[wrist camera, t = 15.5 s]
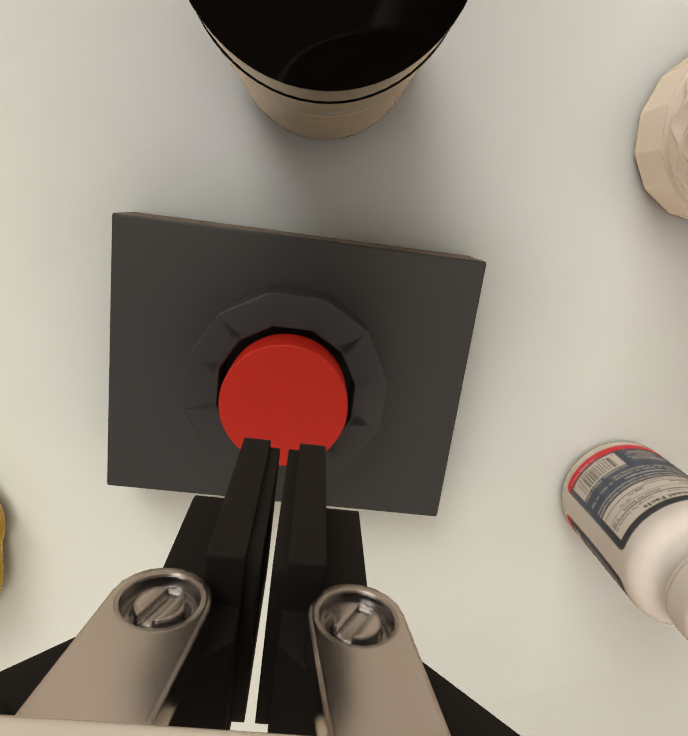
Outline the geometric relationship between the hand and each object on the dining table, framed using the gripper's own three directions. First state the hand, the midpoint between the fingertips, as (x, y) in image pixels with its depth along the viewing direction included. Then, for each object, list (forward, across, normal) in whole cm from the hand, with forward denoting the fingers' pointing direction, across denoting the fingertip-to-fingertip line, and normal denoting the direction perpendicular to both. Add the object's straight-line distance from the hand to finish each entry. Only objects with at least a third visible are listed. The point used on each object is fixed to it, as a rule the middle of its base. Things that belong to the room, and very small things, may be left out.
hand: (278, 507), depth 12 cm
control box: (+14, 0, +1) cm, 14 cm away
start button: (+10, 0, +1) cm, 10 cm away
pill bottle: (+14, -16, +5) cm, 22 cm away
